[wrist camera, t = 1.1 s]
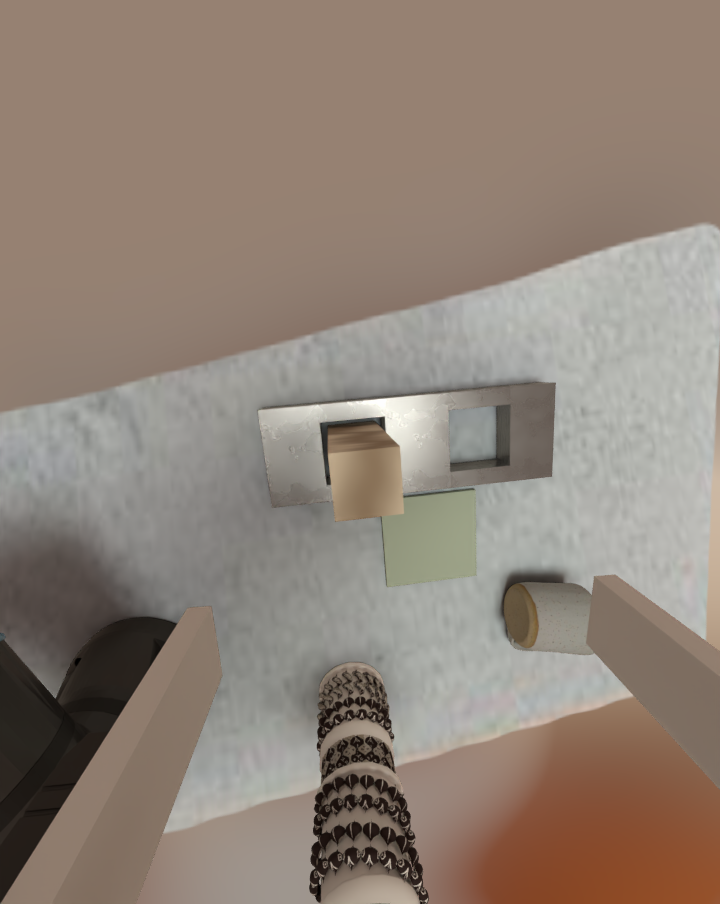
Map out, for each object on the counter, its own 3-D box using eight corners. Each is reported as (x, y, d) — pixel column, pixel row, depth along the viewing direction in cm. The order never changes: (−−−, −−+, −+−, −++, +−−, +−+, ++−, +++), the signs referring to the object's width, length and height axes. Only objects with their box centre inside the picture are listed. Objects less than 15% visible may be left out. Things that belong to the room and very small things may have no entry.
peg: (332, 469, 38) (335, 521, 25) (327, 425, 37) (327, 453, 24) (377, 465, 39) (404, 513, 25) (374, 420, 38) (400, 446, 24)
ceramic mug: (504, 569, 43) (541, 611, 36) (566, 570, 44) (615, 611, 36) (491, 642, 46) (523, 695, 38) (549, 641, 46) (592, 694, 39)
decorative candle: (390, 711, 46) (460, 1086, 22) (321, 724, 46) (313, 1123, 21) (383, 654, 44) (452, 995, 20) (311, 666, 44) (290, 1034, 19)
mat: (386, 584, 42) (387, 587, 42) (380, 499, 40) (380, 500, 39) (474, 573, 43) (476, 575, 42) (473, 488, 40) (475, 489, 40)
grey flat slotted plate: (276, 497, 38) (272, 507, 36) (263, 407, 36) (257, 410, 33) (535, 469, 41) (551, 476, 38) (538, 382, 38) (555, 382, 35)
